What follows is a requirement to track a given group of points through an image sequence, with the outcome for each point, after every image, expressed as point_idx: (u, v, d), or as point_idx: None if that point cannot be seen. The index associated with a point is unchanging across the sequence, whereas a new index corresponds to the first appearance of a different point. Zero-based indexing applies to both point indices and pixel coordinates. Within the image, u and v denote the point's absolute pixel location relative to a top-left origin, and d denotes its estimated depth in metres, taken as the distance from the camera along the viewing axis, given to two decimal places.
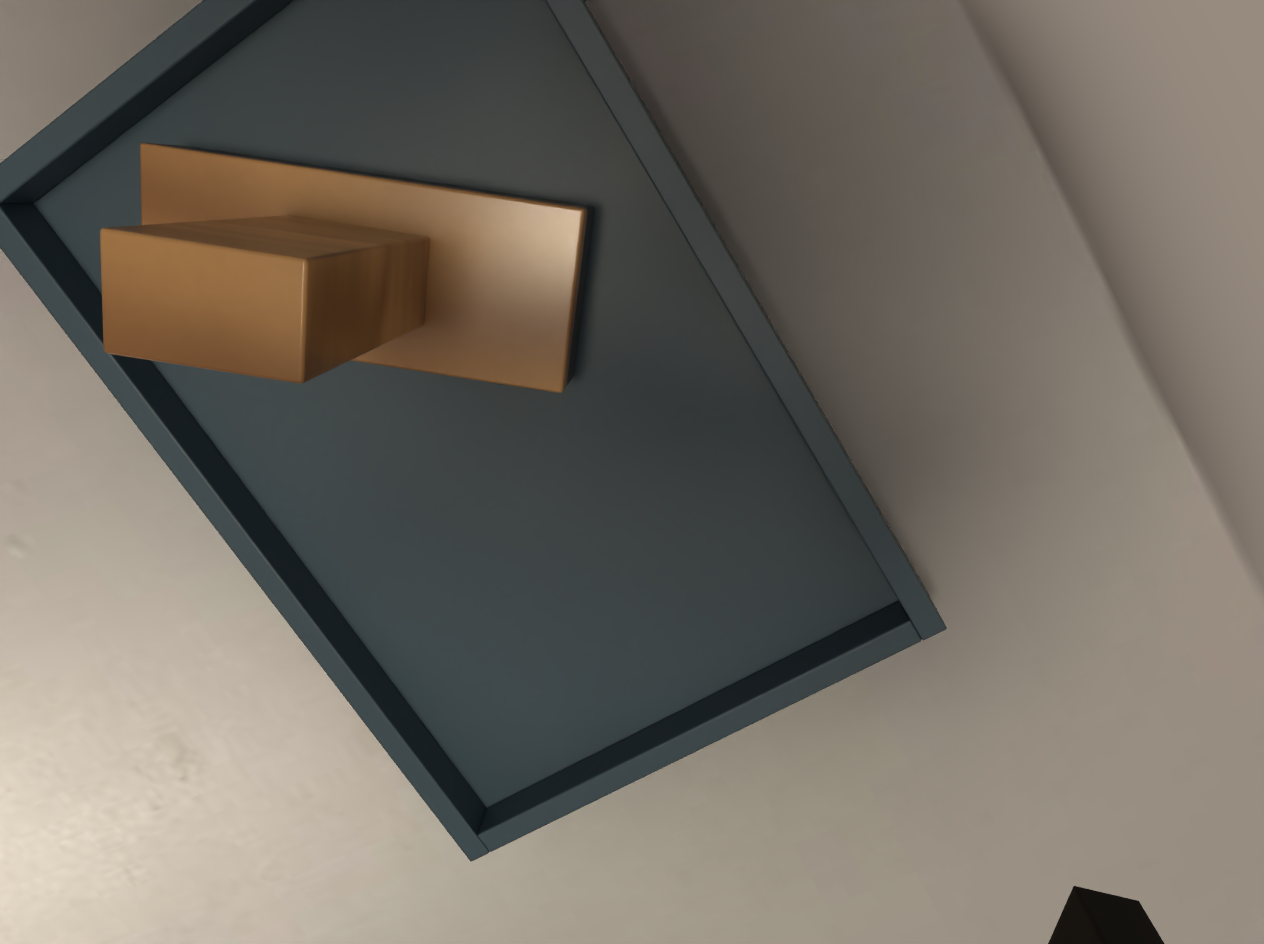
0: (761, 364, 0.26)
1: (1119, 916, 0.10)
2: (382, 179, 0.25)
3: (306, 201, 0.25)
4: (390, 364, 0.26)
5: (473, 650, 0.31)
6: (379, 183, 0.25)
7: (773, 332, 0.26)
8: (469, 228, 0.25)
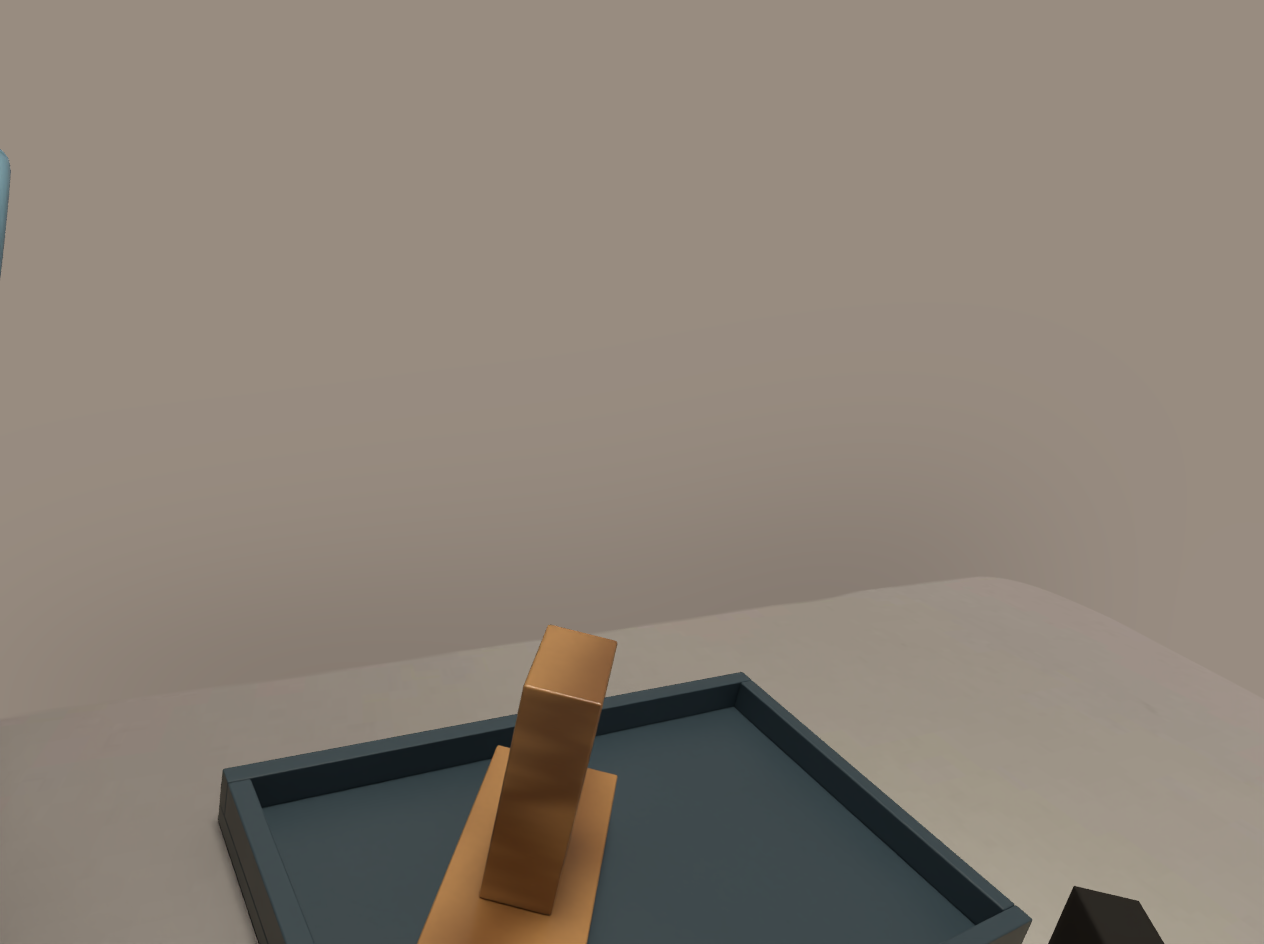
0: None
1: (1119, 916, 0.10)
2: (461, 835, 0.32)
3: (470, 881, 0.30)
4: (600, 858, 0.33)
5: (843, 921, 0.36)
6: (463, 836, 0.32)
7: None
8: None
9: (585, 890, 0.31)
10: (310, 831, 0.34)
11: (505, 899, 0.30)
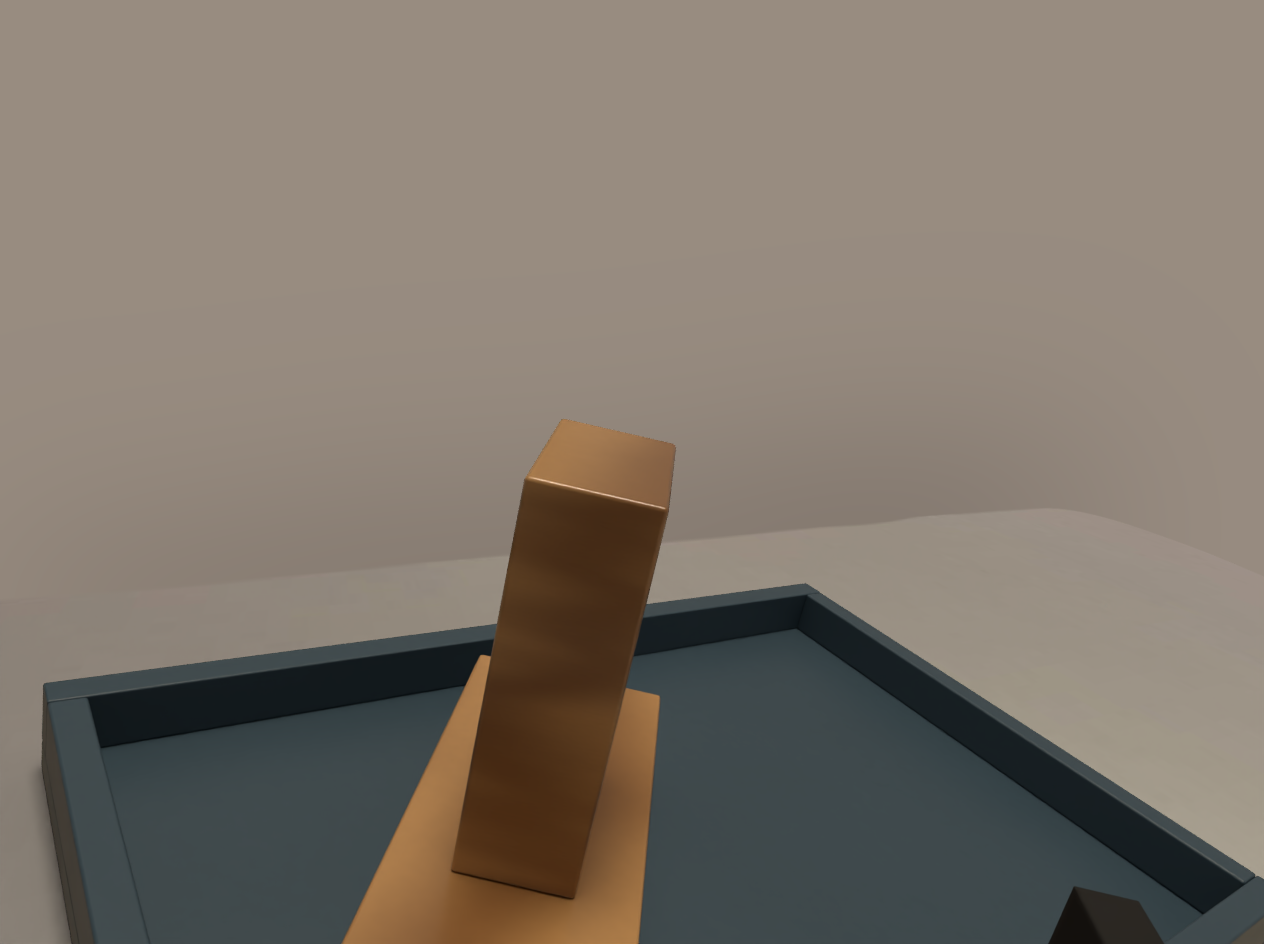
0: None
1: (1119, 916, 0.10)
2: (423, 775, 0.20)
3: (435, 845, 0.18)
4: (647, 809, 0.20)
5: (1009, 904, 0.24)
6: (427, 776, 0.20)
7: None
8: None
9: (629, 858, 0.19)
10: (184, 780, 0.21)
11: (496, 873, 0.17)
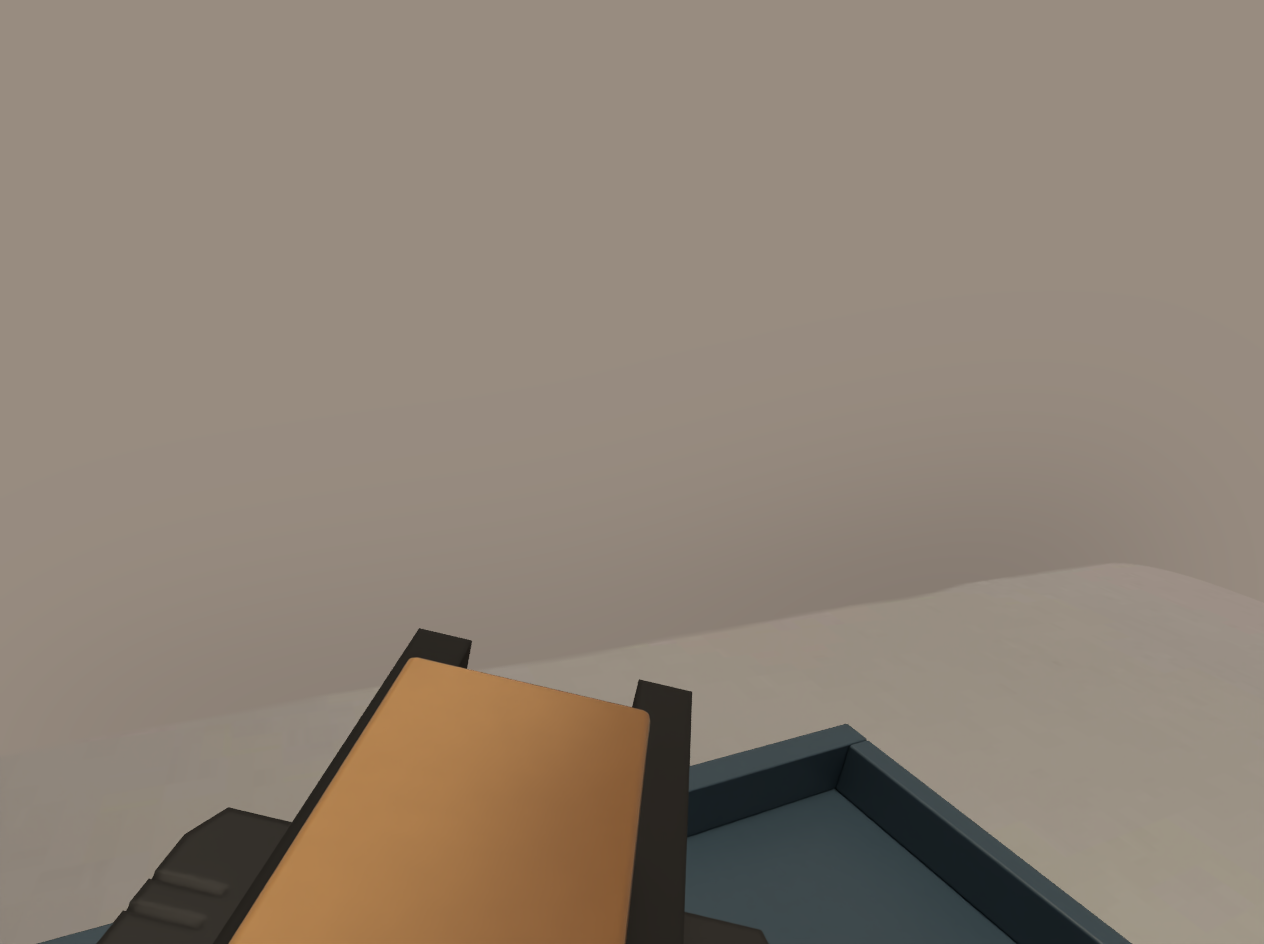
0: None
1: (664, 699, 0.13)
2: None
3: None
4: None
5: None
6: None
7: None
8: None
9: None
10: None
11: None
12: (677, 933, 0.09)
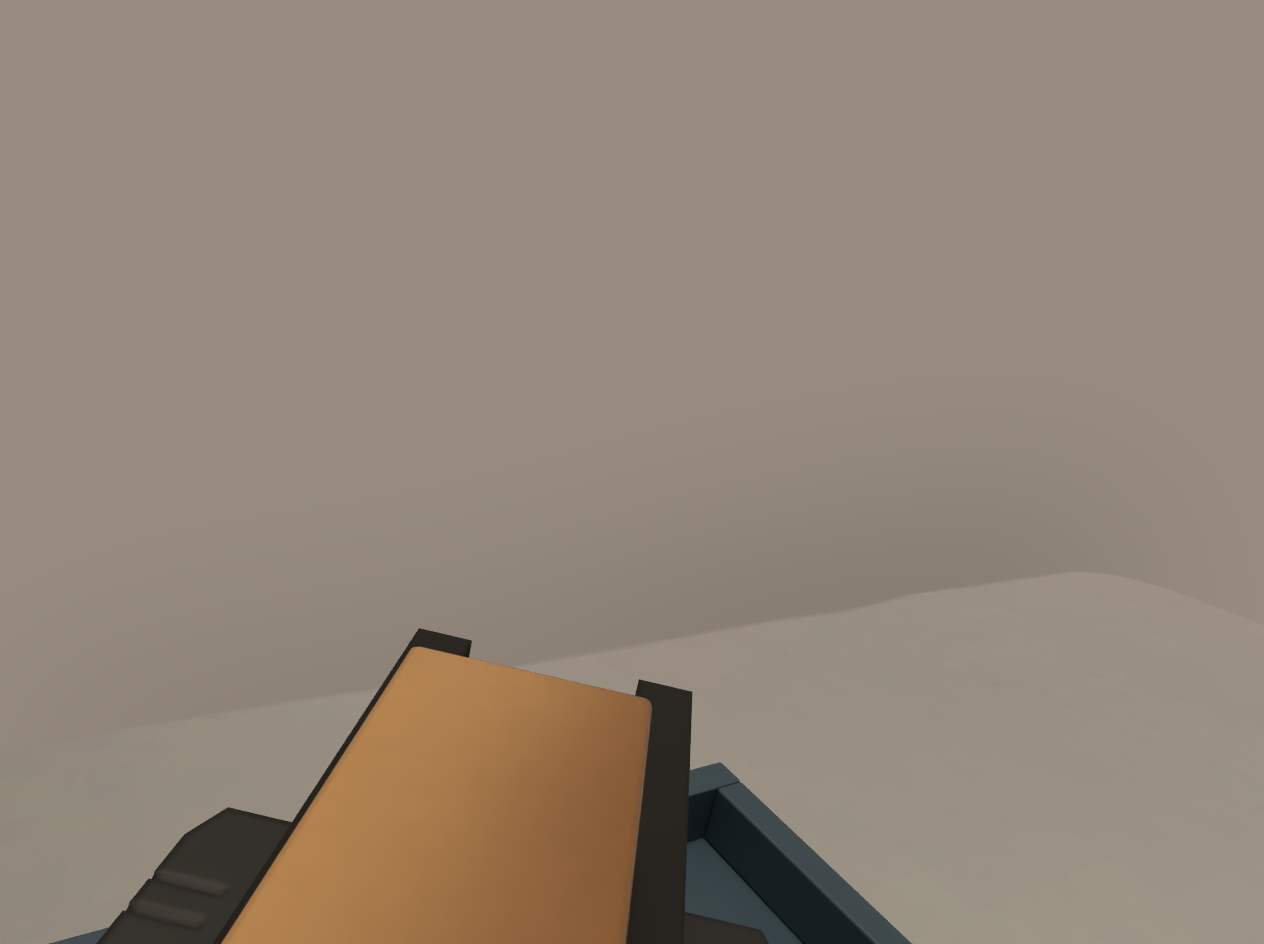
0: None
1: (664, 699, 0.13)
2: None
3: None
4: None
5: None
6: None
7: None
8: None
9: None
10: None
11: None
12: (677, 933, 0.09)
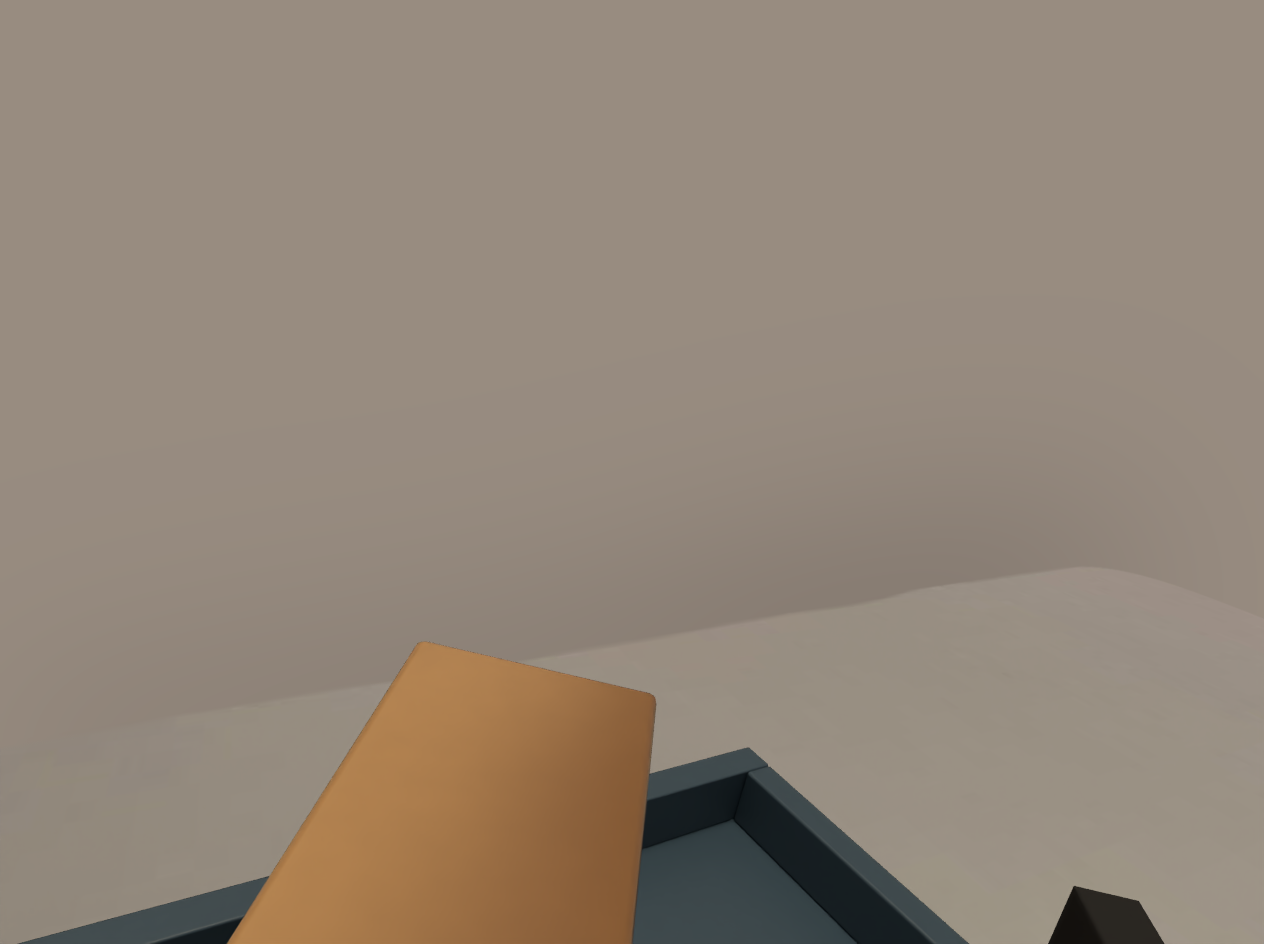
0: None
1: (1119, 916, 0.10)
2: None
3: None
4: None
5: None
6: None
7: None
8: None
9: None
10: None
11: None
12: None
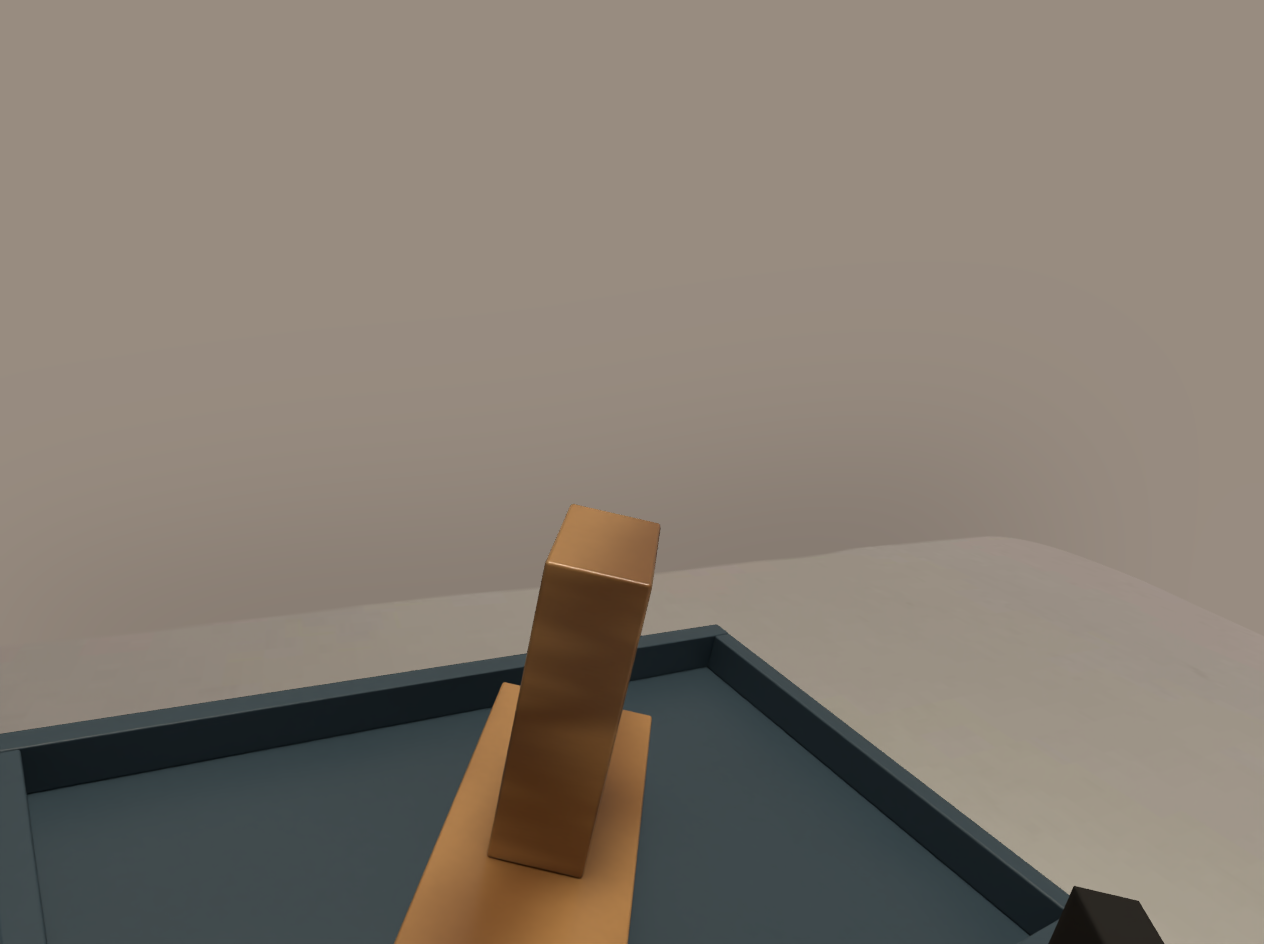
0: None
1: (1119, 916, 0.10)
2: (461, 782, 0.25)
3: (474, 837, 0.23)
4: (639, 809, 0.26)
5: (853, 932, 0.26)
6: (465, 783, 0.25)
7: (501, 658, 0.33)
8: None
9: (623, 847, 0.24)
10: (106, 822, 0.24)
11: (522, 858, 0.23)
12: None
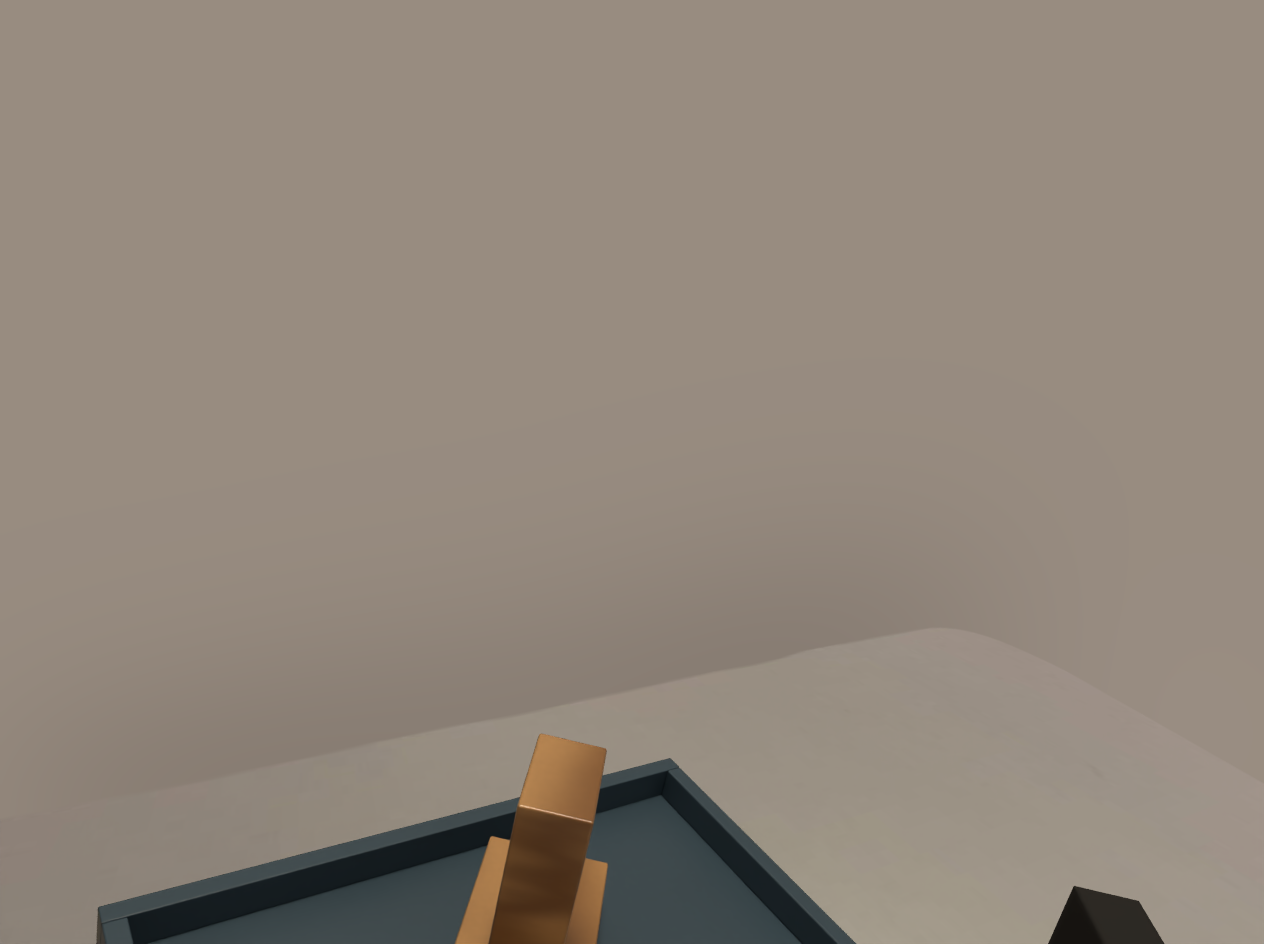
0: (509, 812, 0.41)
1: (1119, 916, 0.10)
2: (457, 936, 0.33)
3: None
4: None
5: None
6: (460, 937, 0.33)
7: (490, 805, 0.41)
8: (497, 892, 0.36)
9: None
10: None
11: None
12: None
